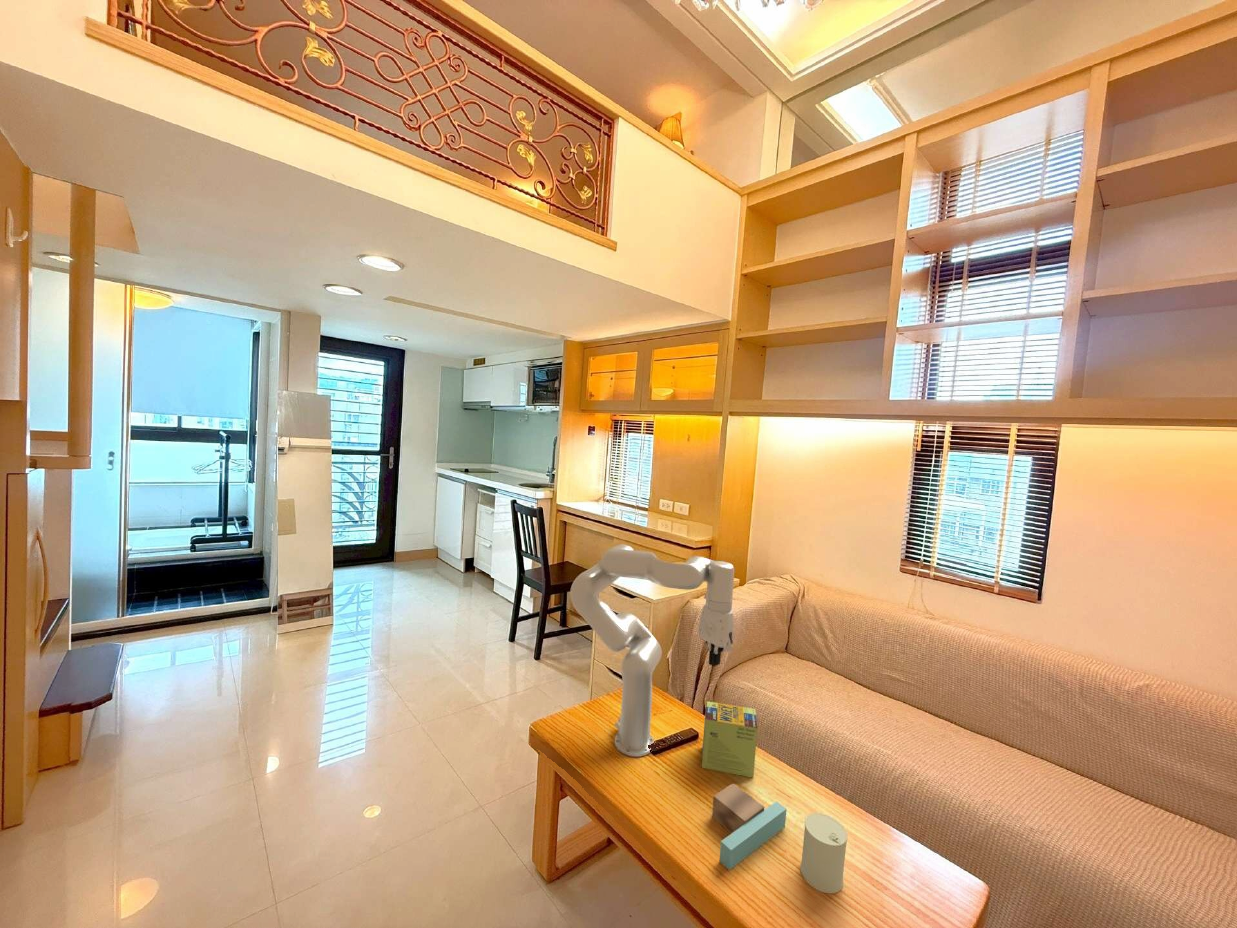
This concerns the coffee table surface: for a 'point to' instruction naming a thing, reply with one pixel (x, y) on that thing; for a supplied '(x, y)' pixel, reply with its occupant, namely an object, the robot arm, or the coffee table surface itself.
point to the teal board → (752, 835)
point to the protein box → (729, 739)
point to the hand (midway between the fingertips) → (714, 664)
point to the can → (823, 853)
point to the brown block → (734, 808)
